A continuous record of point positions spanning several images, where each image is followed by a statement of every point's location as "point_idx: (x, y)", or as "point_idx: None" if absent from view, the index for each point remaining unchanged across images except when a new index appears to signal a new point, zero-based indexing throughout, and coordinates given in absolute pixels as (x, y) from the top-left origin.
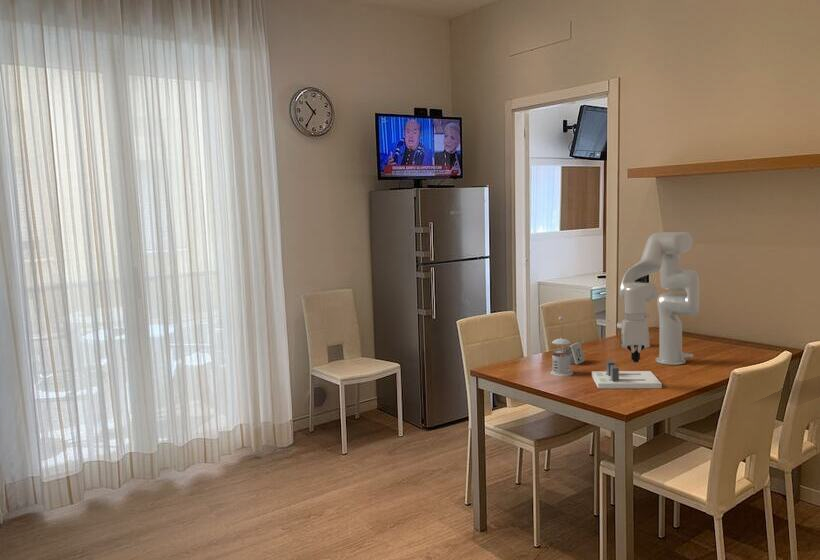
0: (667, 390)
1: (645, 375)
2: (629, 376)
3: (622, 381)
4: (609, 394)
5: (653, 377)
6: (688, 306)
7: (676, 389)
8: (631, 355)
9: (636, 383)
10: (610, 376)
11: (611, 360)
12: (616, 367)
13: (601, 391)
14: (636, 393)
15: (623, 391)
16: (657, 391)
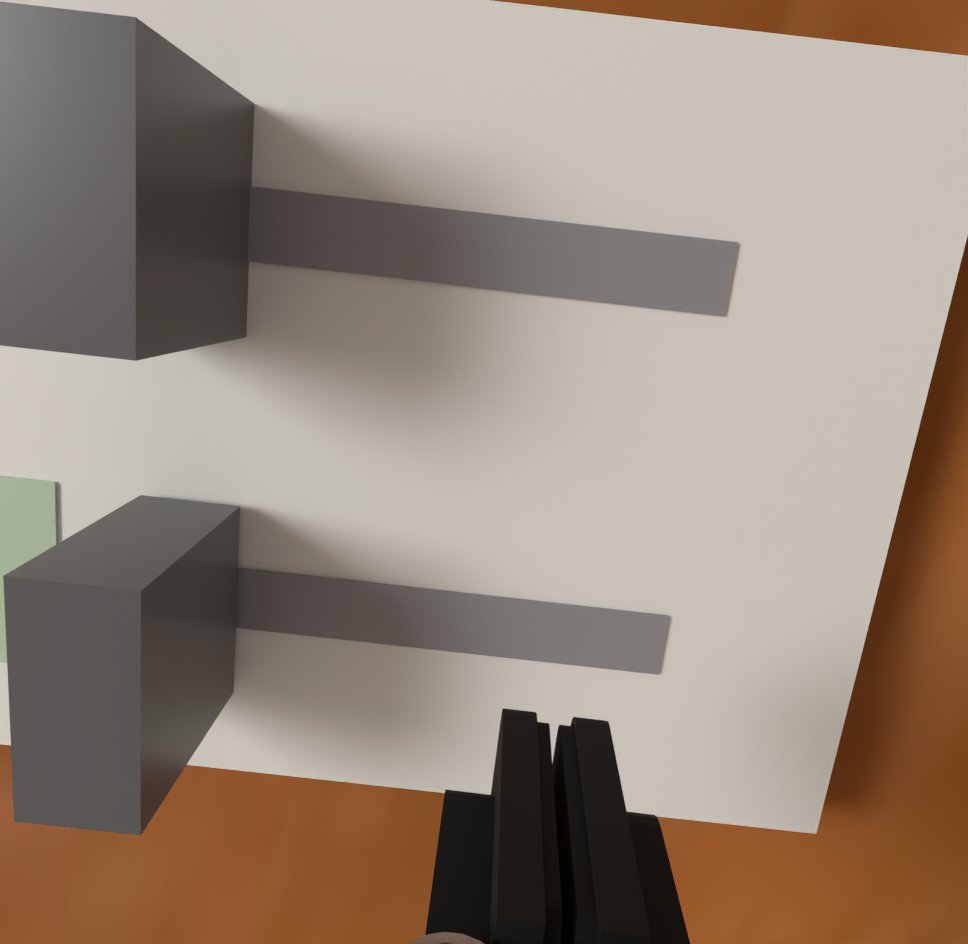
0: (819, 869)
1: (776, 378)
2: (485, 410)
3: (295, 678)
4: (82, 934)
5: (851, 517)
6: None
7: (950, 844)
8: (434, 872)
9: None
10: (129, 505)
11: (97, 80)
12: (107, 771)
13: (3, 818)
14: (404, 934)
15: (272, 847)
16: (680, 892)
